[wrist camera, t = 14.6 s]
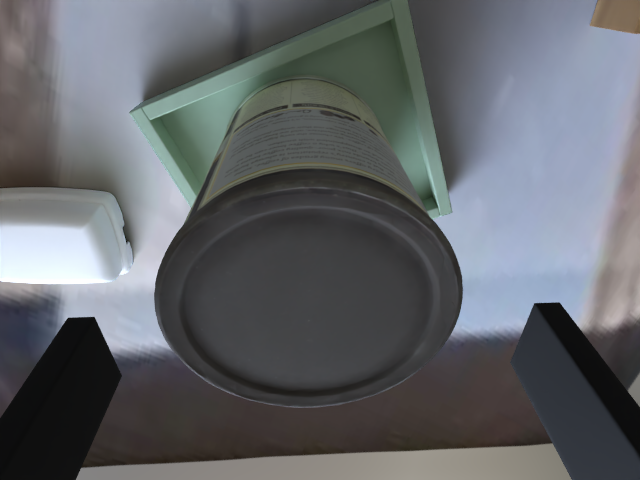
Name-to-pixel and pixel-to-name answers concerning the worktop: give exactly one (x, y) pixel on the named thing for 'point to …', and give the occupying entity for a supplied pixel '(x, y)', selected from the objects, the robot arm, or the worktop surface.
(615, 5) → the can stand
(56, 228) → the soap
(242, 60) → the tray
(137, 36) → the worktop surface
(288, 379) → the coffee can
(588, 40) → the worktop surface
